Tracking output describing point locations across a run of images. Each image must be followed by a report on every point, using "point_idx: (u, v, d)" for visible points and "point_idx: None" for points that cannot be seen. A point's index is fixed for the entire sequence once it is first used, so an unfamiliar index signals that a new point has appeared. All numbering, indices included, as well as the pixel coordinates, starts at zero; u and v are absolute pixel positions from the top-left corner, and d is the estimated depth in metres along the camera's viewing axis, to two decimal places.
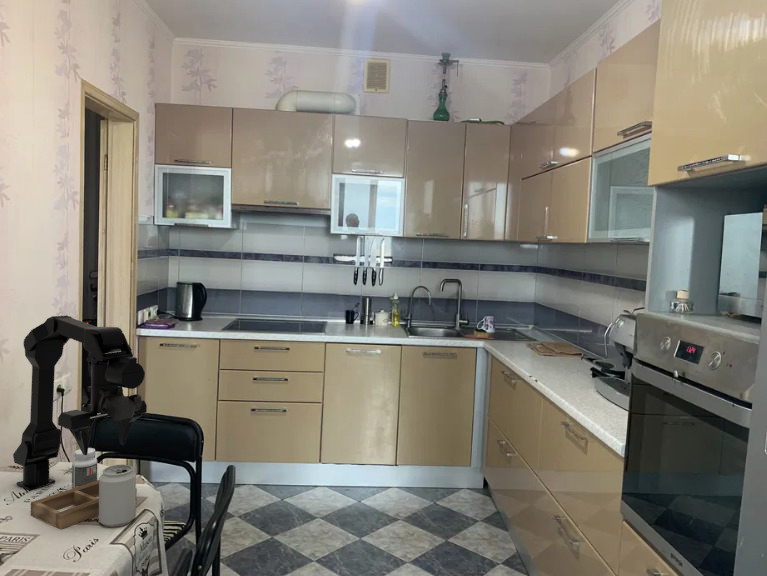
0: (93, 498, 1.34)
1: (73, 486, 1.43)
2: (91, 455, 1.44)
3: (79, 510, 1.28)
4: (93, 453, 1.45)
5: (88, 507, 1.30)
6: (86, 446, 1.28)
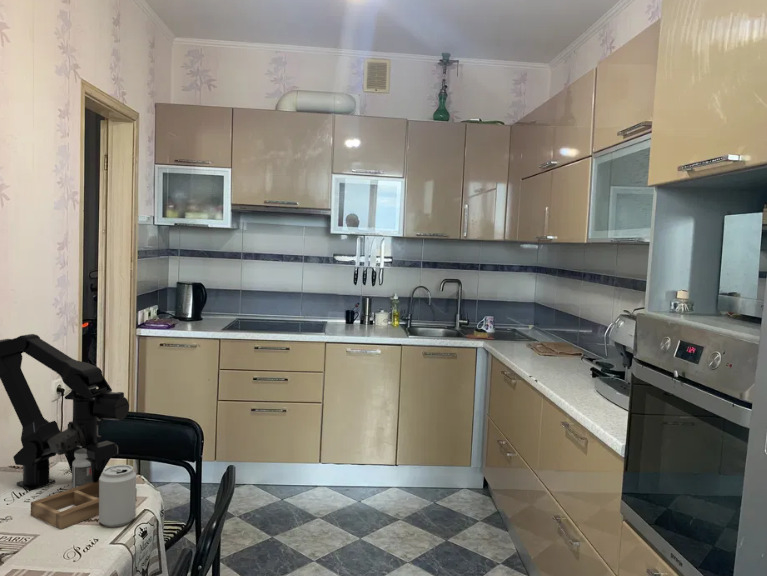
0: (93, 498, 1.34)
1: (73, 486, 1.43)
2: None
3: (79, 510, 1.28)
4: None
5: (88, 507, 1.30)
6: (70, 466, 1.47)
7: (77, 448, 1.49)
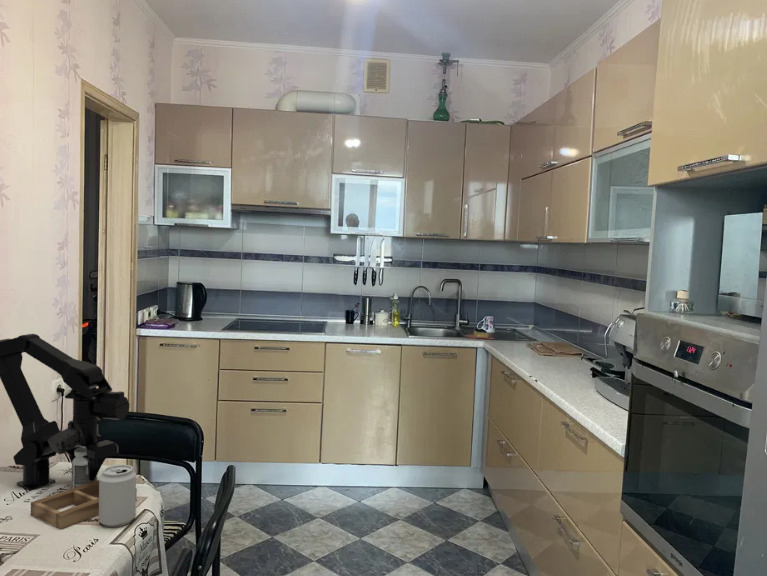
0: (93, 498, 1.34)
1: (73, 484, 1.43)
2: None
3: (79, 510, 1.28)
4: None
5: (88, 507, 1.30)
6: None
7: None
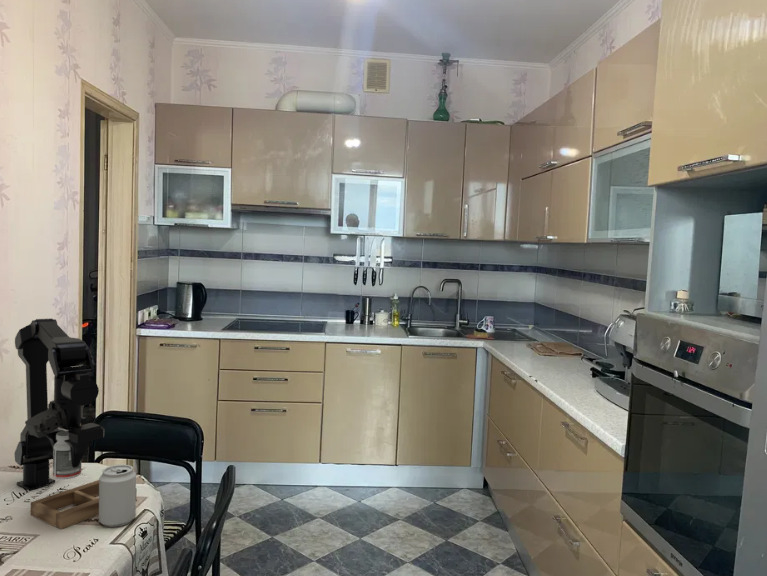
0: (93, 498, 1.34)
1: (54, 471, 1.29)
2: None
3: (79, 510, 1.28)
4: None
5: (88, 507, 1.30)
6: None
7: None
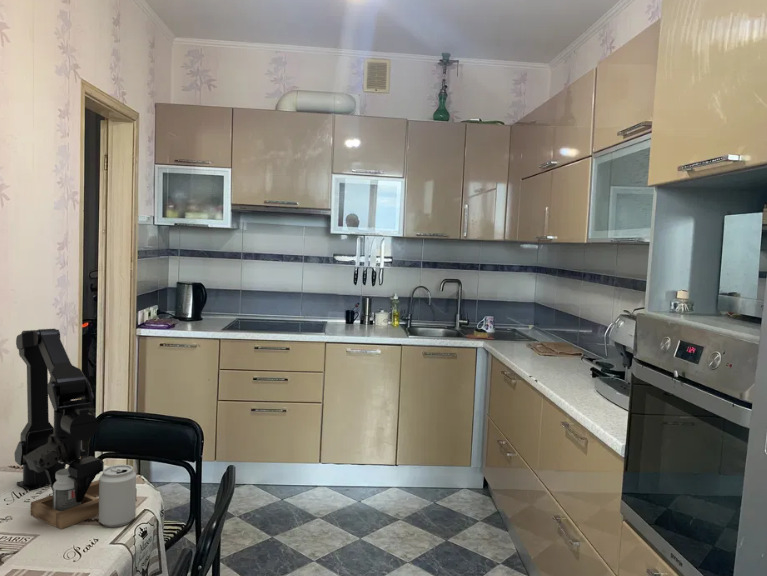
0: (93, 498, 1.34)
1: None
2: None
3: (79, 510, 1.28)
4: None
5: (88, 507, 1.30)
6: (50, 483, 1.33)
7: (59, 463, 1.35)
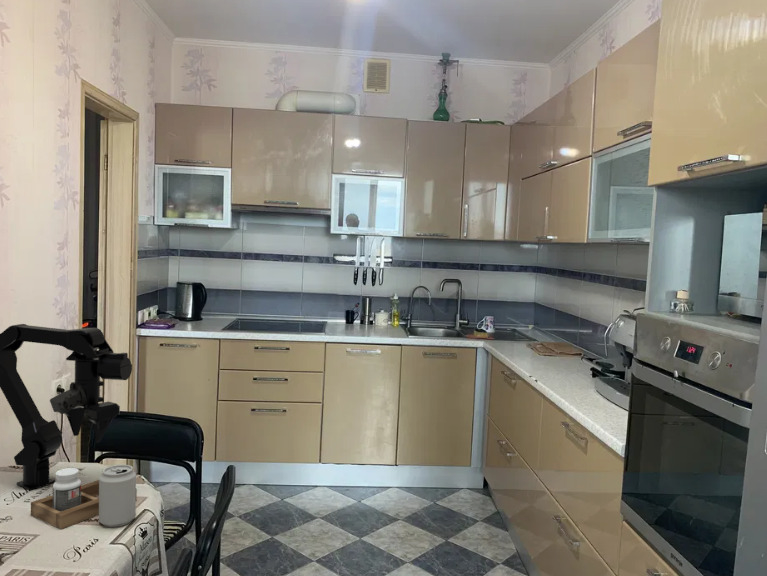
0: (93, 498, 1.34)
1: None
2: (74, 476, 1.30)
3: (79, 510, 1.28)
4: (76, 474, 1.31)
5: (88, 507, 1.30)
6: (71, 427, 1.48)
7: (79, 410, 1.50)
